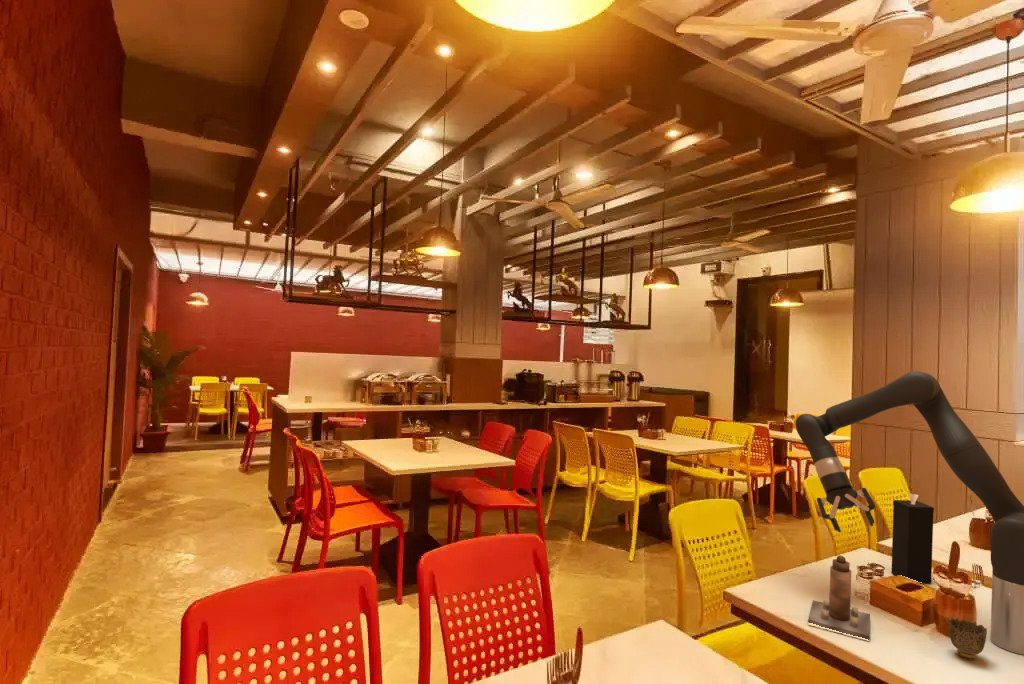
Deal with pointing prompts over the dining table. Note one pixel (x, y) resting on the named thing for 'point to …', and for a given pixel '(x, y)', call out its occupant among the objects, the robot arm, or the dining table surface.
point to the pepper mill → (840, 589)
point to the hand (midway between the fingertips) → (855, 528)
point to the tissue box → (912, 539)
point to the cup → (967, 637)
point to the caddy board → (854, 626)
